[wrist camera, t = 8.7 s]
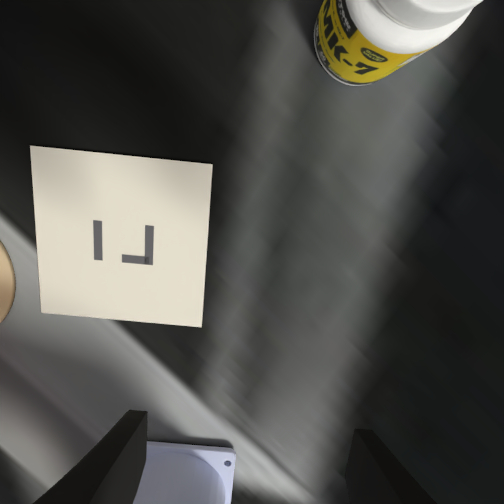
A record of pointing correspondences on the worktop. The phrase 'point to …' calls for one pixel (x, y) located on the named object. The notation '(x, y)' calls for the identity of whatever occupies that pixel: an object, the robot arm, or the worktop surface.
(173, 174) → the tile
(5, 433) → the worktop surface
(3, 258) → the cork coaster
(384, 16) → the supplement bottle
